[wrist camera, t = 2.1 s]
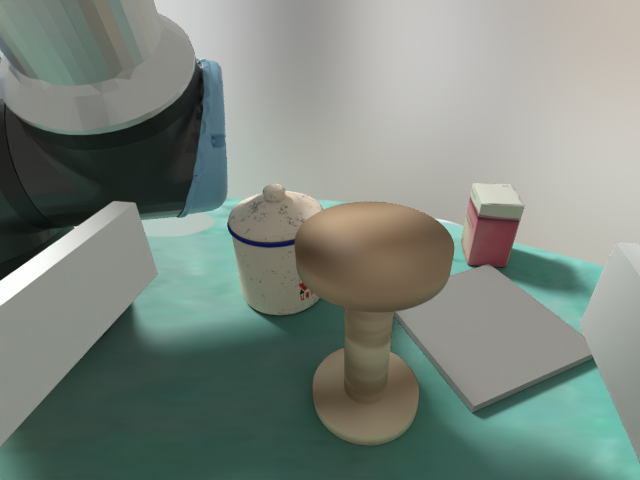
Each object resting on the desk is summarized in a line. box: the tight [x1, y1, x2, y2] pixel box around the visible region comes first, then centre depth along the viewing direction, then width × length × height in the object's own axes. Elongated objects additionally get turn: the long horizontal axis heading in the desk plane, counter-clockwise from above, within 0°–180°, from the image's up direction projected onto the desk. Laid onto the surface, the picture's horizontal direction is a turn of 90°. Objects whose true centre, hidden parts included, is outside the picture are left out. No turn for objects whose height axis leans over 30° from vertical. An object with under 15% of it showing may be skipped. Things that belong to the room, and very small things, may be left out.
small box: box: [461, 183, 524, 267], centre depth 44 cm, size 5×4×8 cm
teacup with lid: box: [227, 184, 323, 315], centre depth 40 cm, size 12×9×12 cm
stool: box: [295, 202, 454, 446], centre depth 27 cm, size 9×9×14 cm
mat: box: [394, 264, 593, 413], centre depth 36 cm, size 13×13×1 cm
